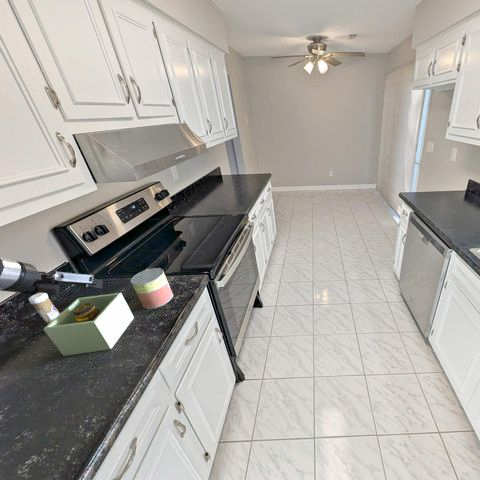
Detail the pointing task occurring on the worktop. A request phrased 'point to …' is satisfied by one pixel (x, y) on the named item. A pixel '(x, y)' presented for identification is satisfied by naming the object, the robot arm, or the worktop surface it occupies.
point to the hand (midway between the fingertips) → (79, 287)
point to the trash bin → (90, 325)
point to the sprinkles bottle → (44, 307)
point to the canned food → (152, 288)
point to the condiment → (86, 312)
